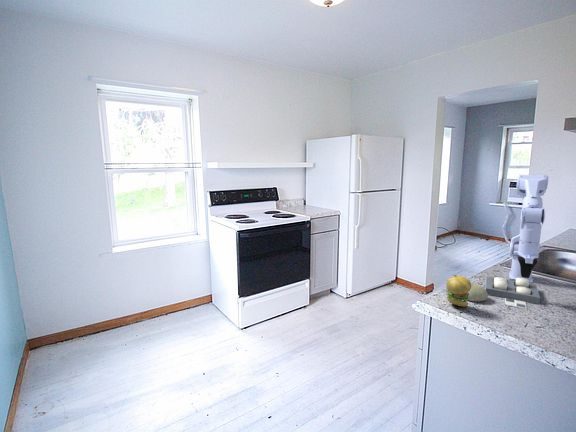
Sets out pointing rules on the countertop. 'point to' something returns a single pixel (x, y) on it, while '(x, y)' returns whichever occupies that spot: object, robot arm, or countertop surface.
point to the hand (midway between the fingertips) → (525, 277)
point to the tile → (515, 303)
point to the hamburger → (458, 290)
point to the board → (513, 291)
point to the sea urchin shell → (477, 293)
